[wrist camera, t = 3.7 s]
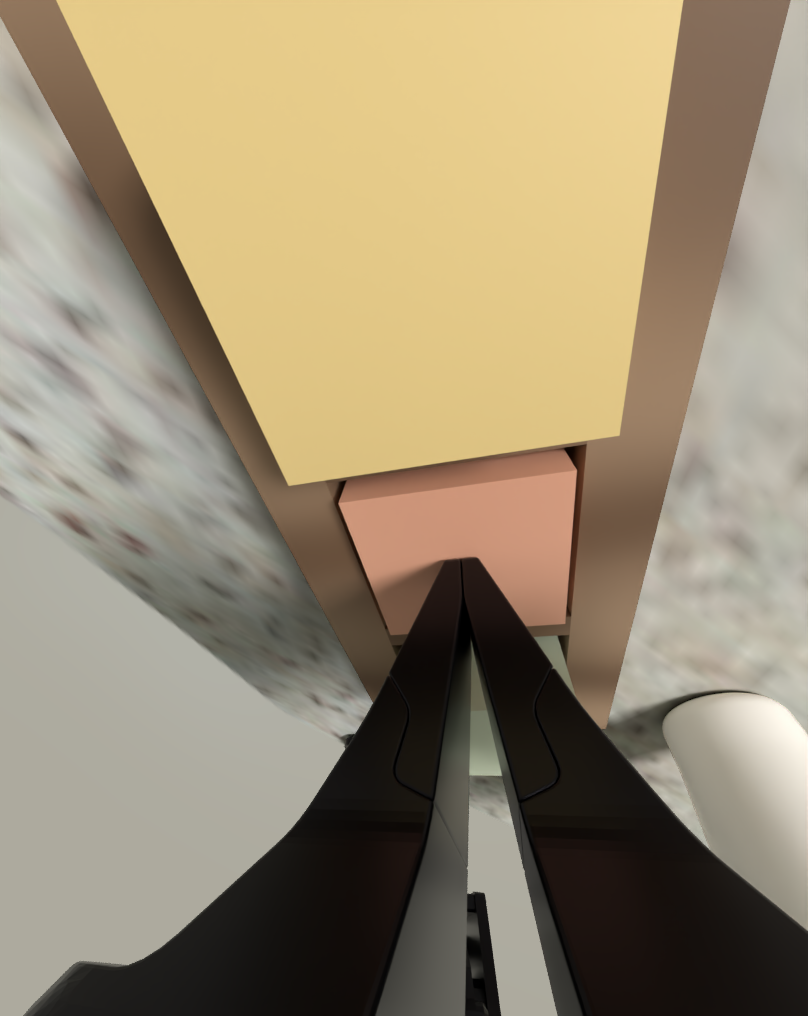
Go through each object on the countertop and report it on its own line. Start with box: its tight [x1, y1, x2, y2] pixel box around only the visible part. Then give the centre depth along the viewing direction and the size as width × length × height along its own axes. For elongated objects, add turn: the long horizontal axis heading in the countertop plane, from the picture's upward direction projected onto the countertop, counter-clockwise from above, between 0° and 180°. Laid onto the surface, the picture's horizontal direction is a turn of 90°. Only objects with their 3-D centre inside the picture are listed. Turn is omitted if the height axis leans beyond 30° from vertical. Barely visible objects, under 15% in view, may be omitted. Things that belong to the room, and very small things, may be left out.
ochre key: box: [56, 0, 683, 486], centre depth 5 cm, size 5×5×3 cm
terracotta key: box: [339, 448, 577, 635], centre depth 10 cm, size 5×5×3 cm
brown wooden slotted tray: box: [0, 0, 790, 729], centre depth 10 cm, size 21×9×2 cm, turn 12°
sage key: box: [469, 636, 576, 776], centre depth 13 cm, size 5×5×3 cm
